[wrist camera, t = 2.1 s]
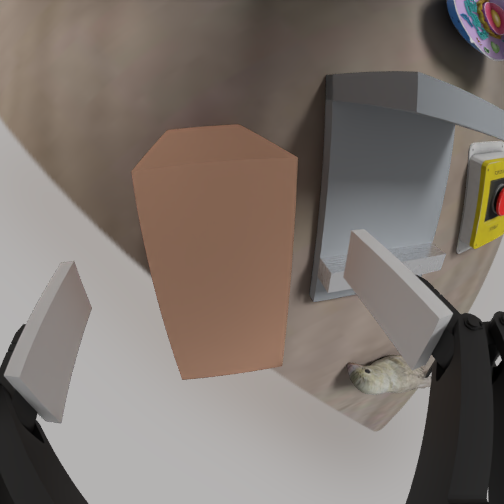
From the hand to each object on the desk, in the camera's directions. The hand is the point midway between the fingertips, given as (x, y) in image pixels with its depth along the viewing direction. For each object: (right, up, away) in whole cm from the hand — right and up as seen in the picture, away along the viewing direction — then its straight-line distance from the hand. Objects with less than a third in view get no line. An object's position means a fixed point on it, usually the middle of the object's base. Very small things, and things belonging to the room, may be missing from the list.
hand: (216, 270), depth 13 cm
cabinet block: (-2, +5, +8) cm, 10 cm away
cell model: (+24, +25, +2) cm, 35 cm away
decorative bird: (+22, -16, +26) cm, 38 cm away
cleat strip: (+14, 0, +13) cm, 19 cm away
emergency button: (+31, +8, +14) cm, 35 cm away
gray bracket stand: (+14, +6, +11) cm, 19 cm away
